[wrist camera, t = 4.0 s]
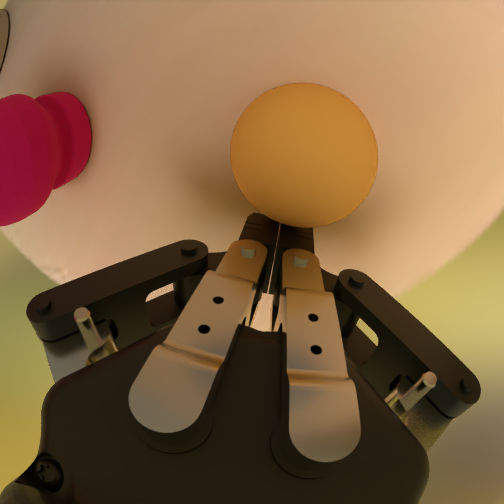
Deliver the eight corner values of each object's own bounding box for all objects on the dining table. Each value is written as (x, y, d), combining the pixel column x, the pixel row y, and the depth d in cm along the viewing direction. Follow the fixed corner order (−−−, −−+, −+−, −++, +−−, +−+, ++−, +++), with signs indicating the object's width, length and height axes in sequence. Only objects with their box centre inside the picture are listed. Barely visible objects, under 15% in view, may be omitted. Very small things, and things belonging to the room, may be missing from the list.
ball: (238, 201, 14) (208, 239, 8) (247, 91, 11) (221, 59, 6) (348, 215, 13) (381, 261, 8) (362, 107, 11) (409, 88, 6)
